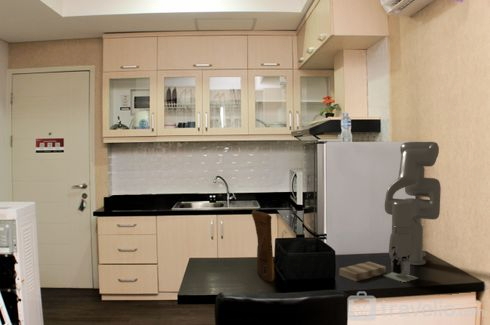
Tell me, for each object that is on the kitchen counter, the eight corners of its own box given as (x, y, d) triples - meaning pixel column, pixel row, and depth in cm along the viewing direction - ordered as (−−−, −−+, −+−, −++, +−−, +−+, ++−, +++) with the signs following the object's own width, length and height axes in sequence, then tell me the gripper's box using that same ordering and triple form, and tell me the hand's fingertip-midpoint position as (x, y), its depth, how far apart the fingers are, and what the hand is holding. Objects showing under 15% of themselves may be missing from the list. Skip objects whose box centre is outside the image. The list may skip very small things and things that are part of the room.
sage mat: (396, 272, 161) (396, 271, 161) (417, 278, 152) (417, 277, 152) (382, 275, 155) (382, 274, 155) (403, 282, 147) (403, 281, 147)
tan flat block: (368, 267, 166) (368, 261, 166) (385, 273, 159) (385, 266, 159) (339, 275, 156) (339, 268, 156) (355, 281, 148) (355, 274, 148)
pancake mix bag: (262, 284, 144) (263, 215, 143) (250, 269, 162) (250, 208, 162) (278, 282, 145) (279, 214, 145) (264, 268, 164) (265, 208, 163)
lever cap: (397, 270, 158) (397, 256, 158) (409, 274, 153) (410, 260, 153) (391, 271, 155) (391, 258, 155) (403, 275, 150) (403, 261, 150)
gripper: (404, 226, 161) (403, 266, 162) (381, 230, 152) (380, 272, 153) (420, 229, 155) (419, 271, 155) (397, 233, 146) (396, 277, 146)
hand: (400, 271), depth 154 cm, fingers closed on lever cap, 4 cm apart
